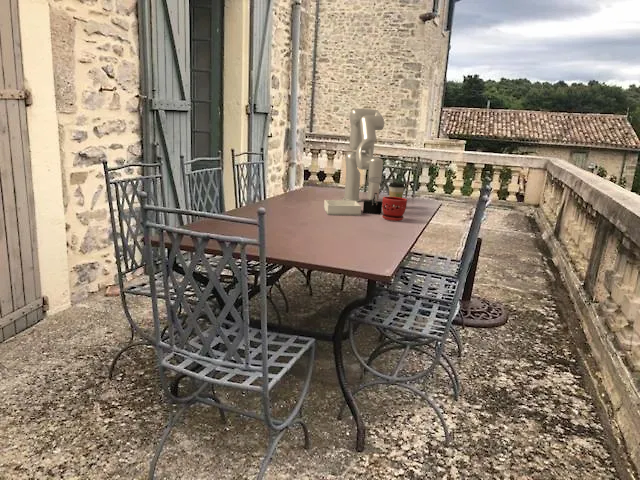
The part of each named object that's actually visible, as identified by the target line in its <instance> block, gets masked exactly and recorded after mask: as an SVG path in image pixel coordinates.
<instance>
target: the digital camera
mask: <svg viewBox="0 0 640 480" xmlns="http://www.w3.org/2000/svg"><path fill="white" fill-rule="evenodd" d="M373 203H374V201H373ZM371 205H372V201H370V200H369V199H368V200H366V199H365V200H364V201H363V206H362V213H363V214H368V215H369V214H370V215H379V216H380V215H382V212H383V209H382V200H381V201H379V200H377V212H371Z"/></svg>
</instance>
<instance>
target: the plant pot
mask: <svg viewBox="0 0 640 480" xmlns="http://www.w3.org/2000/svg"><path fill="white" fill-rule="evenodd" d="M381 202H382V212H383V214H381V215H382V218H383V219H384V220H387V221H390V222H399V221H402V220H403V219H404V216H403V215H405V213H406V212H405V211H406V210H407V203H408V199H407V198H405V197H402V198H399V197H389V196H383V197H382V200H381ZM393 205H394V207H393ZM396 206H397V207H396ZM398 206H399V207H398Z"/></svg>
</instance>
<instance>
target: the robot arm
mask: <svg viewBox="0 0 640 480" xmlns="http://www.w3.org/2000/svg"><path fill="white" fill-rule="evenodd" d="M349 124H350V135H349V143H348V144H349V149H351V150H352V151H350V152H347V153H346V154H345V180H344V181H345V183H344V196H343V197H342V198H341V200H343V201H356V202H357V203H359V202H361V201H362V198H360V189H361V188H360V187H361V185H360V184H361V172H360V170H365V171H366V170H368V175H367V176H368V177H367V183H368V187H367V196H366V198H367V199H368V200H370V201H372V205H371V212H377V201H379V199H380V184H381V183H382V176H383V165H384V164H383V163H384V161H383V159H382V158H379V157H377V156H374V150H375V142H377V133H376V131H382V130H384V128H385V120H384V117H383V115H382V113H380V112H379V111H378V110H377V109H373V108H353V109H352V110H350V112H349ZM353 150H354V151H353ZM363 151H364V152H363ZM373 201H374V203H373Z"/></svg>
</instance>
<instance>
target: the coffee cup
mask: <svg viewBox="0 0 640 480" xmlns="http://www.w3.org/2000/svg"><path fill="white" fill-rule="evenodd" d="M388 187H389V188H388V189H389V192H388V193H389V195H388V197H399V198H403V195H404V189H405V187H406V186H405V184H404V183H403V182H396V181H395V182H391V181H390V183H389V185H388ZM393 207H394V205H393ZM396 207H397V206H396ZM398 207H399V206H398Z"/></svg>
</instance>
